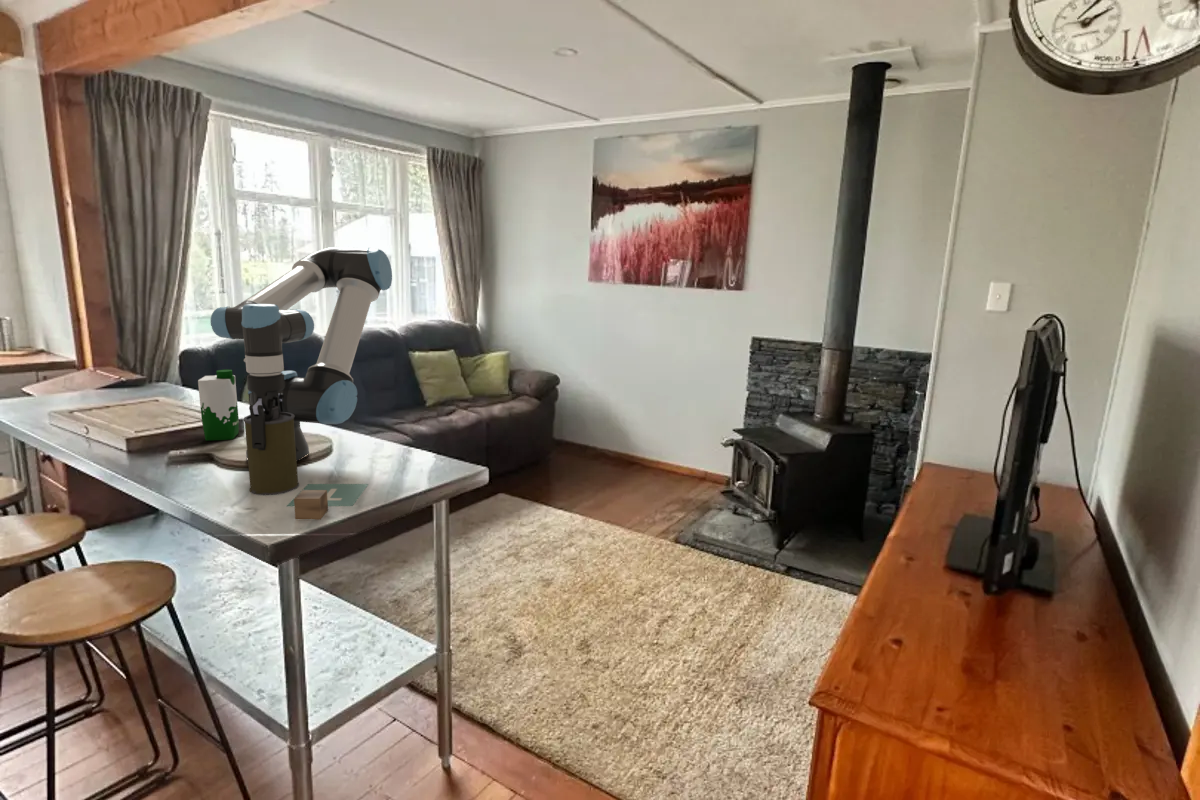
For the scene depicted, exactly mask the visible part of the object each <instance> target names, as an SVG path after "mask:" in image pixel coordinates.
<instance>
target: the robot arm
mask: <svg viewBox="0 0 1200 800" xmlns="http://www.w3.org/2000/svg"><path fill="white" fill-rule="evenodd" d="M387 255H388V254H386V252H384V251H383V250H382V249H379V248H371V247H367V248H358V247H339V246H332V247H326V248H323V249H319V250H317V251H313V252H312V253H310V254H308V255H305V256H304V257H302V258H300V259H299V260H298V261H296V262H294V263H293V265H292V268H291V270H290V271H288V272H286V273H285V274H284V275H282V276H280V277H279V278H277V279H275V280H274V281H273V282H271V283H269V284H268V285H266V286H265V287H263V288H262V289H260V290H259V291H256V292H255V293H254V294H253V295H251V296H249V297H248V298H247V299H245V300H243V301H242V302H241V303H239V304H237V305H236V306H233V307H232V306H231V307H230V306H221V307H216V309H214V310H213V311H212V314H211V316H210V326H211V329H212V332H213V333H214V334H215V335H216V336H217V337H219V338H223V339H229V340H243V344H244V357H245V358H243V362H244V363H245V369H246V372H247V373H248V374H247V375H246V386H247V387H246V388H247V390H248V391H247V395H248V403H249V404H248V405H249V407H248V410H249V415H251V430H252V447H253V449H256V448H257V449H258V450H265V448H266V434H265V422H270V421H271V419H272V418H273V414H274V410H273V409H272V408H274V407H275V406H278V412H279V413H280V412H288V413H292V414H294V415H295V417H294V431H295V446H296V460H299V459H301V458H302V457H304V456H305V455H307V454H308V453H309V454H310V448H309V444H308V442H307V439H306V437H305V435H304V433H303V430H302V428H301V422H302V423H311V424H322V425H337V424H338V425H339V424H342V423H344V422H346V421H347V420H349V419H350V417H351V416H352V415H353V413H354V411H355V409H356V408H357V407H356V406H357V402H358V397H357V396H358V389H357V386H356V384H354V378H353V377H352V375H351V374H350V372H351V369H352V367H353V363H354V360H355V356H356V353H357V350H358V347H359V342H360V339H361V337H362V333H363V330H364V327H365V323H366V319H367V317H368V314H369V313H368V312H369V309H370V307H371V303H372V302H375V301H376V300H378V298H379V296H380V294H381V291H386V290H389V289H390V288H391V286H392V281H393V270H392V265H391V261H390V258H389V257H388V256H387ZM326 288H337V290H338V291H339V294H338V296H337V300H336V302H335V305H334V306H335V307H334V309H333V312H332V315H331V317H330V321H329V324H328V327H327V330H326V334H325V336H324V339H323V343H322V346H321V349H320V352H319V356H318V358H317V361H316V363H315V364H313V365H311V366H309V367H308V368H307V371H306V374H305V376H304V377H298V372H297V371H295V370H285V367H284V366H285V365H284V354H283V344H287V343H288V344H289V343H293V342H300V341H303V340H306V339H309V338H310V337H311V336H312V334H313V333H314V330H315V323H314V319H313V317H312V315H310V313H309V312H307V311H306V310H303V309H294V308H292V307H293V306H294V305H296V304H297V303H299V302H300V301H301V300H303V299H304V298H306V297H307V296H308V295H310V294H311V293H317V292H320V291H322V290H323V289H326ZM268 410H269V411H268ZM265 414H269V415H265ZM279 416H280V414H279ZM245 454H246V455H245V456H246V459H247V458H248V455H247V449H246V450H245ZM299 461H300V460H299Z"/></svg>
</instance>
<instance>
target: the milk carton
mask: <svg viewBox="0 0 1200 800" xmlns="http://www.w3.org/2000/svg"><path fill="white" fill-rule="evenodd" d="M215 372H216V374H215V375H204V376H203V377H201V378H199V379H198V380H197V385H198V394H199V405H200V416H201V423H202V429H203V434H204V439H205V441H206V442H207V441H208V442H209V441H226V440H227V441H228V440H229V441H230V440H231V441H232V440H234V439H235V438H236V437H237V436H238V435H239V431H240V429H239V427H240V426H239V423H240V421H239V419H240V418H239V408H238V407H239V406H238V397H237V386H236V385H237V384H236V375H234V374H233V370H232V369H227V368H225V369H218V370H216V371H215Z"/></svg>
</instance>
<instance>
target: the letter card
mask: <svg viewBox="0 0 1200 800" xmlns="http://www.w3.org/2000/svg"><path fill="white" fill-rule="evenodd" d="M367 487H369V483H308V484H306V486H304V488H303V489H302V490H327V500H328V507H353V506H354V505H355V503H357V501H358V499H359V498H360V497H361V495H362V494H363V493H364V491H365V490H366V488H367ZM286 507H295V506H294V498H292V500H291V501H289V502H288V504H286Z"/></svg>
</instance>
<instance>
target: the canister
mask: <svg viewBox="0 0 1200 800" xmlns="http://www.w3.org/2000/svg"><path fill="white" fill-rule="evenodd" d="M272 409H273V410H274V414H273V418H272V419H271V421H270V422H265V434H266V448H265V450H258V449H257V448H256V449H253V447H252V430H251V415H250V414H249V415H246V416H244V418H243V419H242V421H243V422H244V431H245V432H244V433H245V442H246V450H247V455H248V461H247V463H248V464H247V465H248V466H247V467H248V476H249V485H250V486H249V488H248V490H249V492H250V493H251V494H253V495H255V496H256V495H257V496H274V495H277V496H278V495H282V494H285V493H289V492H292V491H295V490H296V489H298V488H299V486H300V483H299V479H298V478H299V476H298V463H297V462H298V461H296V446H295V431H294V417H295V415H294V414H292V413H288V412H280V413H279V412H278V406H275V407H274V408H272ZM268 411H269V410H268ZM279 414H280V416H279ZM265 415H269V414H265Z"/></svg>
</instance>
